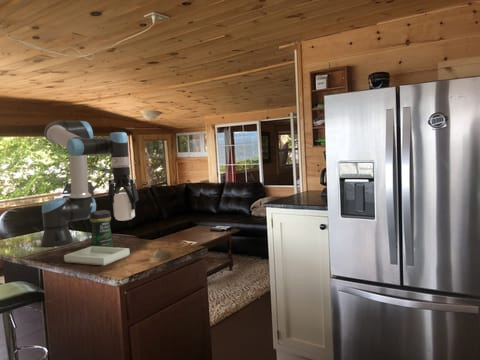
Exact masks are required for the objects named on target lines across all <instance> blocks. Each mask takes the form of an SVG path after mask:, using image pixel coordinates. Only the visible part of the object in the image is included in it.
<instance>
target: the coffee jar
mask: <svg viewBox="0 0 480 360" xmlns="http://www.w3.org/2000/svg"><path fill="white" fill-rule="evenodd" d="M111 220H112V215H111V211H110V210H109V209H108V210H107V209H101V210H96V211H94V212H91V213H90V218H89V222H90V224H91V246H98V247H114V242H113V241H114V240H113V235H112V229H111Z"/></svg>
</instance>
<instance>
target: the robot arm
mask: <svg viewBox="0 0 480 360" xmlns="http://www.w3.org/2000/svg"><path fill="white" fill-rule="evenodd" d="M93 132H94V131H93V128H92V126H91V125H90V123H89V122H88V121H85V120H84V121H83V120H56V121H52V122H50V123H48V124H47V125H46V126H45V129H44V132H43V133H44V134H43V135H44V137H45V139H46V140H47V141H48V142H49V143H52V144H54V145H59V146H61V147H63V148H65V149H66V150H67V151H66V152H68V155H69V167H70V169H69V170H70V171H69V172H70V187H71V188H70V190H71V193H70V194H69V195H68V199H66V198H64V197H60V198H55V199H51V200H47V201H44V202H43V203H42V204H41V214H42V224H43V233H42V238H41V242H40V243H41V247H44V248H45V247H49V248H50V247H59V246H64V245H69V244H71V243H73V242H74V241H73V240H74V239H73V235H72V233H71V231H70V229H69V224H68V223H69V222H77V221H81V220H84V221H85V220H88V219H90V213H91V212H94V211H97V203H96V199H95V198H94V197H92V194H91V193H90V192H89V178H88V158H87V156H94V155H95V156H97V155H98V156H99V155H102V156H103V155H110V156H111V166H112V169H111V170H112V172H111V173H112V176H113V179H111V178H110V179H108V180H107V182H108V193H107V194H108V195H107V201H108V202H111V207H112V210H113V217H114V218H115V207H114V195H115V194H119V193H120V191H121V189H123V190H125V191H124V192H126V193H127V195H128V198H129V200H130V203H129V212H130V217H134V218H135V217H136V212H135V211H136V209H137V208H136V202H138V201H140V198H139V193H138V190H137V184H136V183H137V179H136V178H131V177H130V174H131V168H130V157H129V155H130V154H129V140H128V135H127V133H126V132H124V131H121V132H120V131H115V132H110V133H109V137H98V138H97V137H96V138H95V137H94V133H93Z"/></svg>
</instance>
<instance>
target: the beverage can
mask: <svg viewBox="0 0 480 360" xmlns="http://www.w3.org/2000/svg"><path fill="white" fill-rule="evenodd" d="M129 203H130V200H129V198H128V195H127V193H126V191H124V192H119V194H115V195H114V207H115V217H114V218H115V220H117V221H123V222H124V221H129V220H132V219H133V218H135V216H134V217H130V212H129Z"/></svg>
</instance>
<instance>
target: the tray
mask: <svg viewBox="0 0 480 360" xmlns="http://www.w3.org/2000/svg"><path fill="white" fill-rule="evenodd" d="M130 255H131V254H130V248H127V247H114V246H112V247H98V246H92V245H91V246H87V247H86V248H82V249H79V250H75V251H71V252H69V253H66V254H64V255H63V258H64V259H63V260H64V263H73V264H83V265H95V266H107V265H109V264H112V263H113V262H116V261H119V260H121V259H123V258H126V257H129V256H130Z"/></svg>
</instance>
